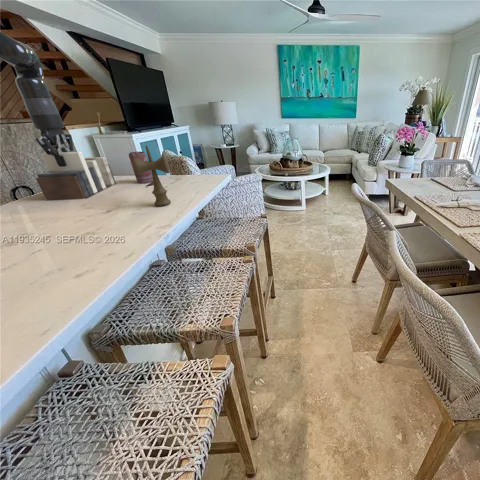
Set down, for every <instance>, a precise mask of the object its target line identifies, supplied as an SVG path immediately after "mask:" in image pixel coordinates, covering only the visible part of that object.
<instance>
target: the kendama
mask: <svg viewBox="0 0 480 480" xmlns="http://www.w3.org/2000/svg"><path fill="white" fill-rule="evenodd" d="M145 150H146V156H147V160H148V161H143V160H141V159H138V158H134V160H133V163H134V168H135V170H136V172H137V174H138V175H142V174H143V173H145V172H146V171H149V170H151V174H152V177H153V184H154V185H153V190H152V191H151V193H152V194H153V195H154V197H155V201H154V205H155V206H157V207H163V206H168V205H169V204H171V203H172V202H171V199H170V198H168V195H167V192H168V190H167V189H166V188H164V186H163V184H162V182H161V179H160V178H159V175H158V172H157V171H160V172H162V173H165V174H168V175H169V174H170V172H171V170H170V164H169V160H168V158H167V156H166V155H162V156H160V158H158V159H156V160H153V158H152V155H151V152H150V149H149V146H148V145H145Z"/></svg>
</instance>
